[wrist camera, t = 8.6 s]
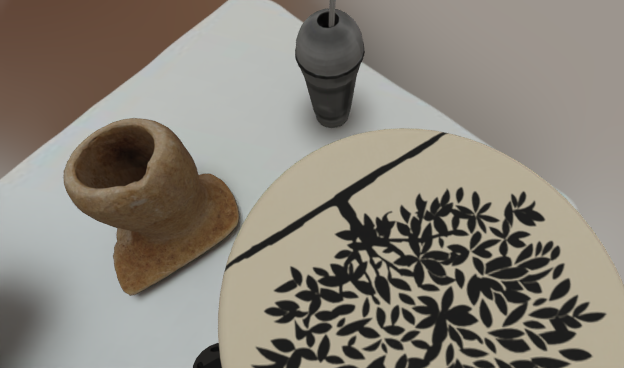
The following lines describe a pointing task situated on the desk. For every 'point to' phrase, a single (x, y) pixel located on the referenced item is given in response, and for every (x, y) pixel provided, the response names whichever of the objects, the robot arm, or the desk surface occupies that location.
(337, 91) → the beverage cup
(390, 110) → the desk surface
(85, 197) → the stone cup
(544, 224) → the travel mug
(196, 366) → the robot arm
